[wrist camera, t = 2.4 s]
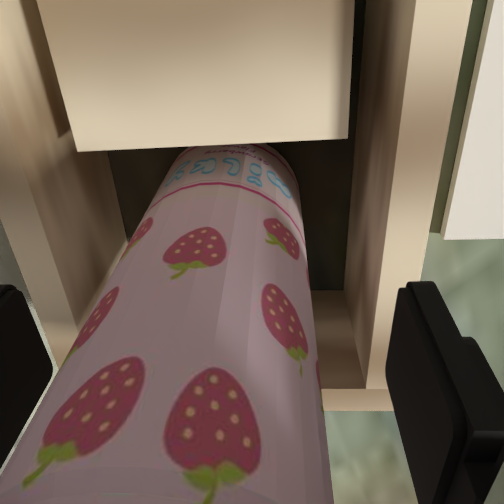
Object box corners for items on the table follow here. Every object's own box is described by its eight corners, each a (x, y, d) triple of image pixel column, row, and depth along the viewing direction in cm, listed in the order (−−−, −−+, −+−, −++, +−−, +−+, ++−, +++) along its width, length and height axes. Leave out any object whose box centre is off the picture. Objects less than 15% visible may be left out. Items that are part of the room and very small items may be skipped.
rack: (366, 309, 22) (395, 411, 16) (120, 311, 22) (74, 409, 17) (432, -262, 12) (558, -454, 6) (-20, -223, 12) (-228, -367, 7)
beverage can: (304, 133, 17) (393, 572, 4) (294, 256, 20) (328, 728, 7) (160, 128, 17) (-158, 538, 5) (171, 251, 20) (-3, 706, 8)
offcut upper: (336, 116, 15) (347, 138, 13) (104, 128, 15) (77, 151, 13) (345, -112, 12) (361, -134, 10) (54, -87, 12) (8, -103, 10)
